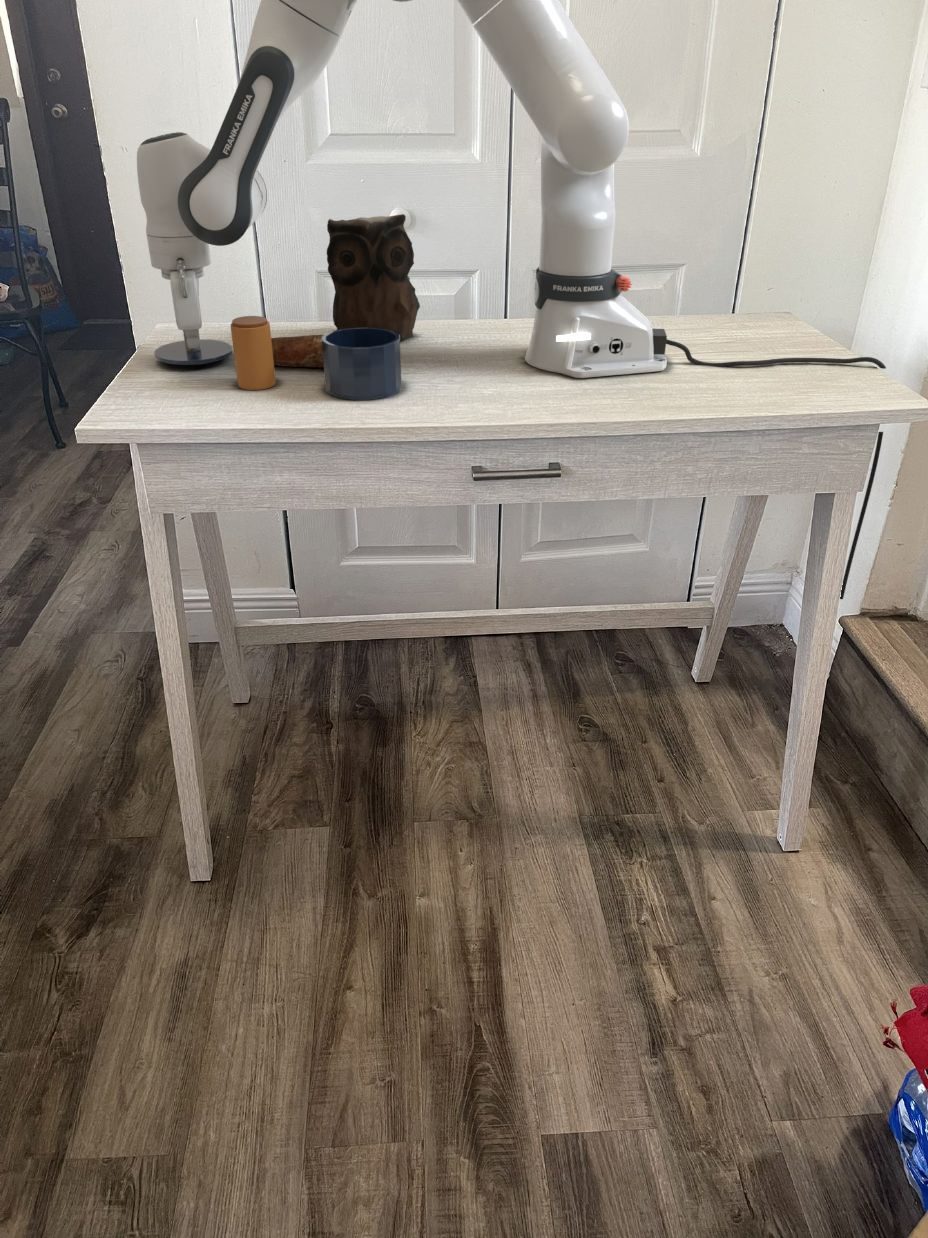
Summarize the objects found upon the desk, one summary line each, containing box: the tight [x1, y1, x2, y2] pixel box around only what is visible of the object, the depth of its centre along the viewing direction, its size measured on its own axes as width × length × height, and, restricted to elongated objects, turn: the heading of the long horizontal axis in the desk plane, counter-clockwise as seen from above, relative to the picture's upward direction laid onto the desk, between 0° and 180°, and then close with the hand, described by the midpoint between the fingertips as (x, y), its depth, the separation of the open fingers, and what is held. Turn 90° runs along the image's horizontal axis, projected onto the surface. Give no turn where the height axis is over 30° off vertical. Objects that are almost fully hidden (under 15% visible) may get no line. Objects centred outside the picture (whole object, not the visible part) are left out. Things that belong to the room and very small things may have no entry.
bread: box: [271, 333, 326, 369], centre depth 148 cm, size 6×19×6 cm, turn 80°
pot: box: [322, 327, 402, 401], centre depth 138 cm, size 11×11×8 cm
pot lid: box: [153, 329, 234, 366], centre depth 150 cm, size 12×12×5 cm
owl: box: [326, 213, 421, 342], centre depth 158 cm, size 13×13×20 cm
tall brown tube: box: [229, 315, 277, 391], centre depth 139 cm, size 6×6×10 cm
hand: (193, 344), depth 151 cm, fingers closed on pot lid, 2 cm apart
